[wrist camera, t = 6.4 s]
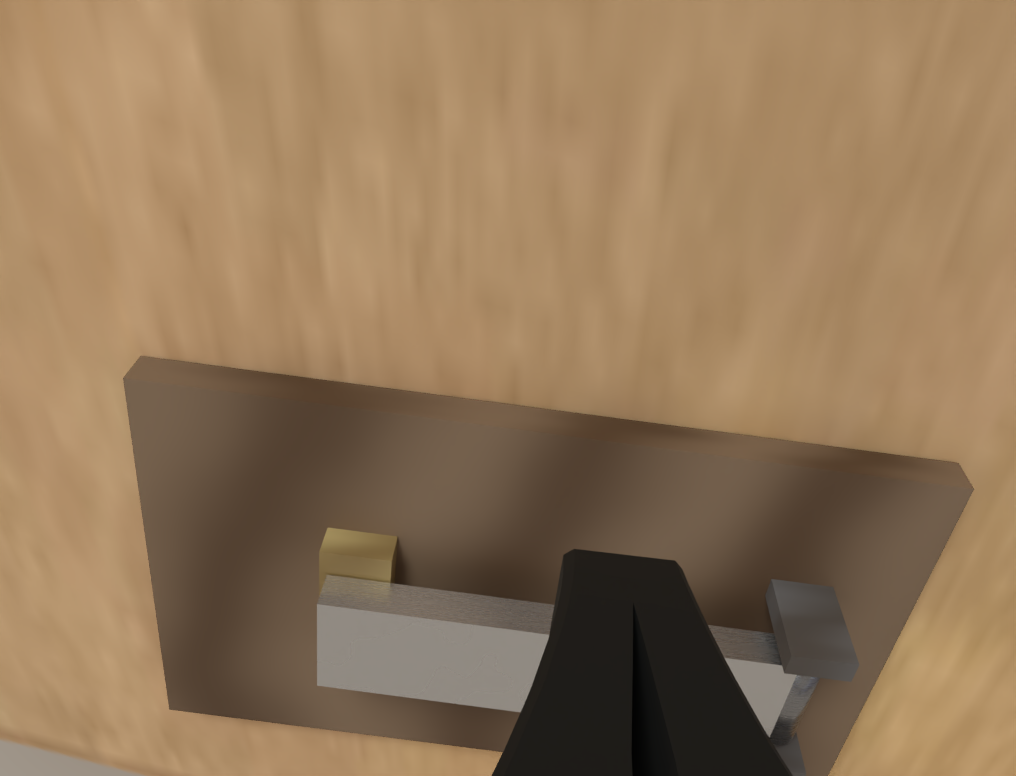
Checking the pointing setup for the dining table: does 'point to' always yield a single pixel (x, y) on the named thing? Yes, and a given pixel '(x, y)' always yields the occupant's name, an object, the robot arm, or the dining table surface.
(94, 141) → the dining table surface
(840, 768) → the dining table surface
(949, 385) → the dining table surface
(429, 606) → the strap
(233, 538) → the base board
